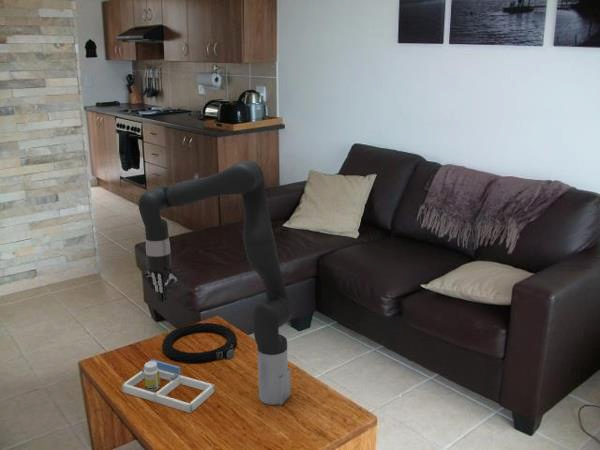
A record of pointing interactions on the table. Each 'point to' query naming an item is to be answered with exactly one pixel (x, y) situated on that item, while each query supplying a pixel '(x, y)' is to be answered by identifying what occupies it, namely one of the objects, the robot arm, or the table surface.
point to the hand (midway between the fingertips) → (162, 301)
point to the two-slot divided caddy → (169, 388)
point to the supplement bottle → (151, 376)
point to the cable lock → (219, 353)
